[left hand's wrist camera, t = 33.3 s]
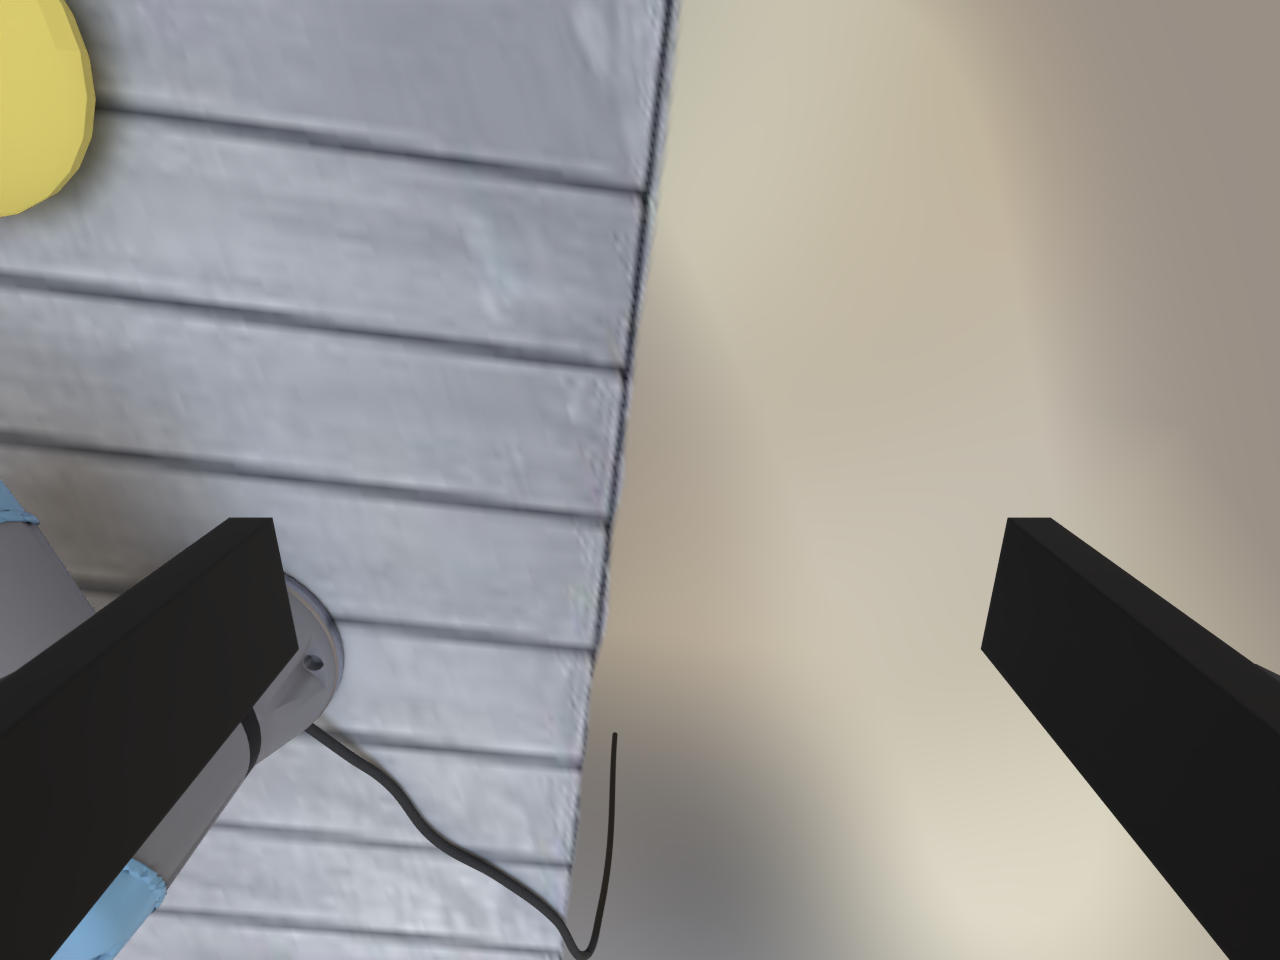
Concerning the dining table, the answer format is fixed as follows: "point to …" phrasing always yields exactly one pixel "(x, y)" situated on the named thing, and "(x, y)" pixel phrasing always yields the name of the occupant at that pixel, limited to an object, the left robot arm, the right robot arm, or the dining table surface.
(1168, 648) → the left robot arm
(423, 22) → the dining table surface
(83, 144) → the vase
